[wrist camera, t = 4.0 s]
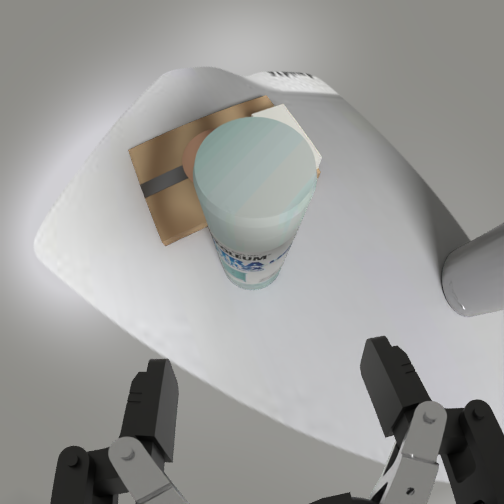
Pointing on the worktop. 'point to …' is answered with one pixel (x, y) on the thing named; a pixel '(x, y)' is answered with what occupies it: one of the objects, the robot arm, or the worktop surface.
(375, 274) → the worktop surface
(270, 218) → the spray paint can
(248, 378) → the worktop surface
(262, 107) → the plywood panel
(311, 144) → the block
